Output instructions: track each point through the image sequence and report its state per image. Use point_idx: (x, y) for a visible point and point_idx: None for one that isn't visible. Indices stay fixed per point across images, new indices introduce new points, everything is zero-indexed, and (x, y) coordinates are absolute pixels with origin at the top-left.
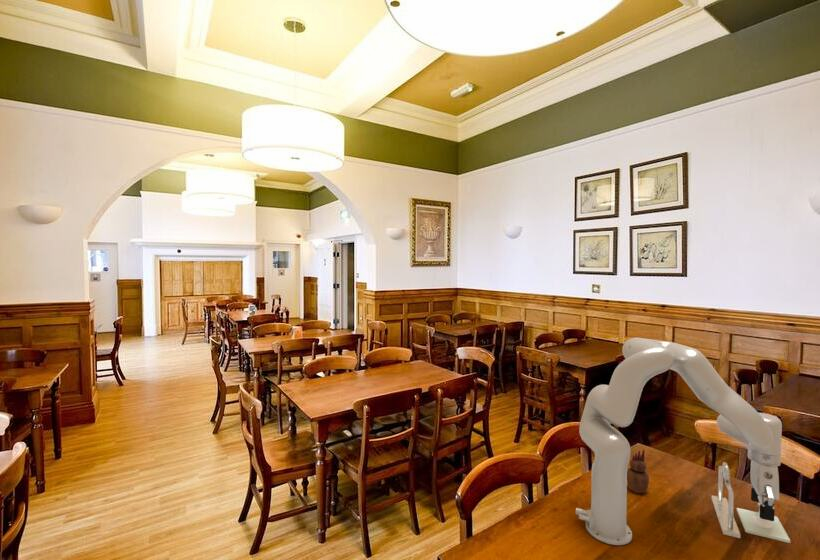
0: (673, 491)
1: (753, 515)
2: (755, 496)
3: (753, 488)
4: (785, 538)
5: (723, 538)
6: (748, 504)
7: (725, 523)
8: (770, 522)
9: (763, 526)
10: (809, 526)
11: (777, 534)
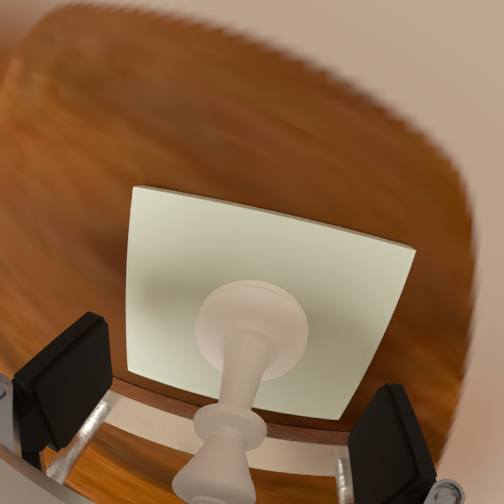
0: (118, 468)
1: (172, 330)
2: (90, 396)
3: (48, 442)
4: (398, 268)
5: None
6: (56, 274)
7: (308, 466)
8: (262, 298)
9: (302, 345)
10: (175, 29)
11: (364, 295)
